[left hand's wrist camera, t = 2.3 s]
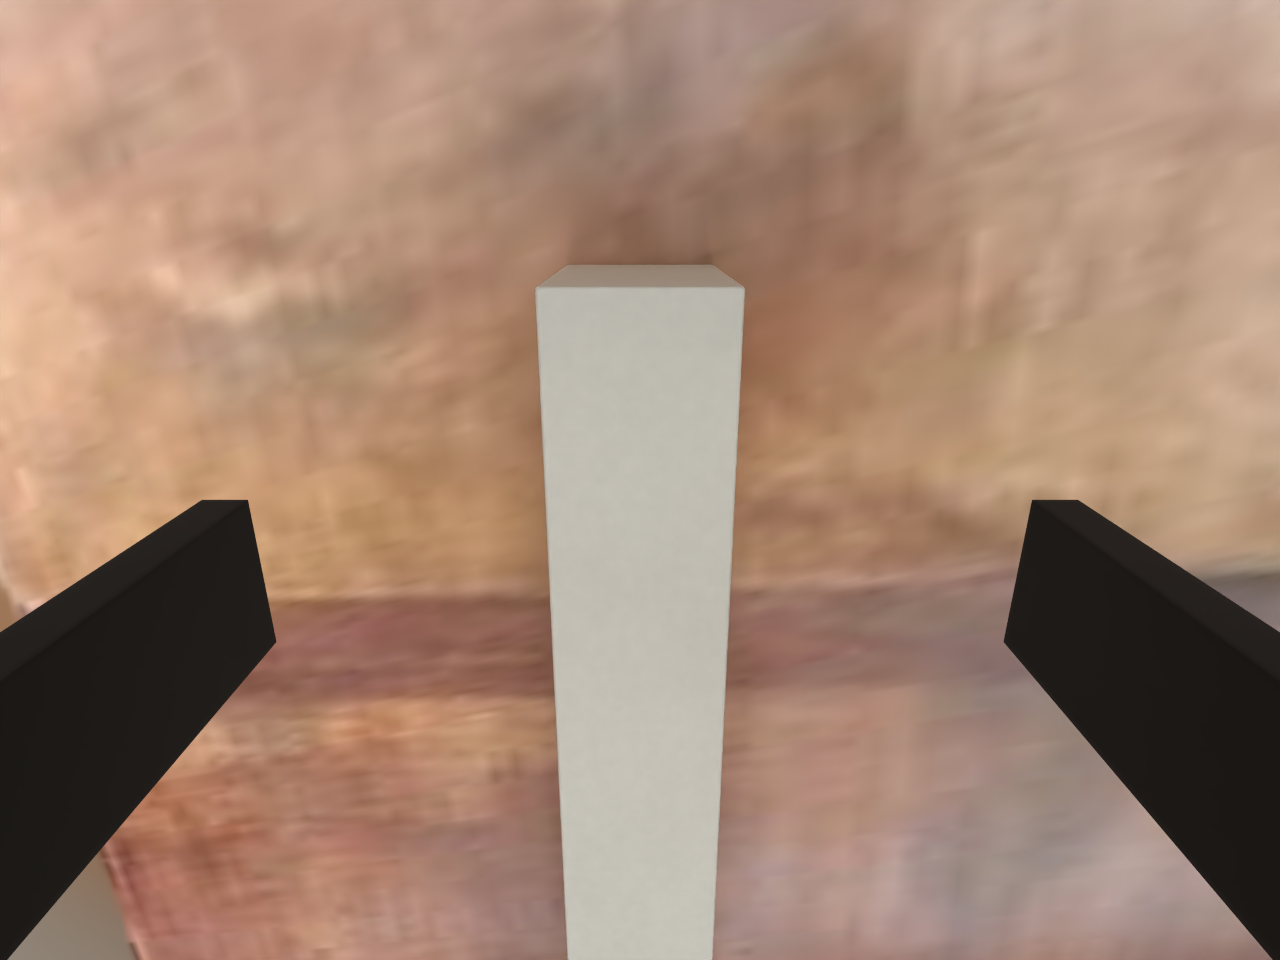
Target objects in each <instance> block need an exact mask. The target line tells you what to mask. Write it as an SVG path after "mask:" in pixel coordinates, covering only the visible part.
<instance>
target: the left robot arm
mask: <svg viewBox="0 0 1280 960" xmlns="http://www.w3.org/2000/svg"><path fill="white" fill-rule="evenodd" d="M275 643H276V638H275V633H274V628H273V623H272V618H271V613H270V608H269V603H268V598H267V593H266V588H265V583H264V578H263V573H262V568H261V563H260V558H259V553H258V548H257V543H256V538H255V533H254V528H253V523H252V518H251V513H250V508H249V503H248V500H201V501H200V502H198V503H197V504H195V505H194V506H192V507H191V508H189V509H188V510H186V511H185V512H183V513H181V514H180V515H178V516H177V517H175V518H174V519H172V520H171V521H169V522H168V523H166V524H165V525H163V526H162V527H160V528H159V529H157V530H156V531H154V532H153V533H151V534H149V535H148V536H146V537H145V538H143V539H142V540H140V541H139V542H137V543H136V544H134V545H133V546H131V547H130V548H128V549H127V550H125V551H124V552H122V553H121V554H119V555H117V556H116V557H114V558H113V559H111V560H110V561H108V562H107V563H105V564H104V565H102V566H101V567H99V568H98V569H96V570H95V571H93V572H92V573H90V574H89V575H87V576H85V577H84V578H82V579H81V580H79V581H78V582H76V583H75V584H73V585H72V586H70V587H69V588H67V589H66V590H64V591H63V592H61V593H60V594H58V595H57V596H55V597H53V598H52V599H50V600H49V601H47V602H46V603H44V604H43V605H41V606H40V607H38V608H37V609H35V610H34V611H32V612H31V613H29V614H28V615H26V616H25V617H23V618H21V619H20V620H18V621H17V622H15V623H14V624H12V625H11V626H9V627H8V628H6V629H5V630H3V631H2V632H0V960H7V959H8V958H9V957H10V956H11V955H12V953H13V952H14V951H15V950H16V949H17V947H18V946H19V945H20V944H21V943H22V942H23V940H24V939H25V938H26V937H27V936H28V934H29V933H30V932H31V931H32V930H33V929H34V927H35V926H36V925H37V924H38V923H39V921H40V920H41V919H42V918H43V917H44V916H45V914H46V913H47V912H48V911H49V910H50V908H51V907H52V906H53V905H54V904H55V903H56V901H57V900H58V899H59V898H60V897H61V895H62V894H63V893H64V892H65V891H66V890H67V888H68V887H69V886H70V885H71V884H72V882H73V881H74V880H75V879H76V878H77V877H78V875H79V874H80V873H81V872H82V871H83V870H84V868H85V867H86V866H87V865H88V864H89V862H90V861H91V860H92V859H93V858H94V857H95V855H96V854H97V853H98V852H99V851H100V849H101V848H102V847H103V846H104V845H105V844H106V842H107V841H108V840H109V839H110V838H111V836H112V835H113V834H114V833H115V832H116V831H117V829H118V828H119V827H120V826H121V825H122V824H123V822H124V821H125V820H126V819H127V818H128V816H129V815H130V814H131V813H132V812H133V811H134V809H135V808H136V807H137V806H138V805H139V803H140V802H141V801H142V800H143V799H144V798H145V796H146V795H147V794H148V793H149V792H150V790H151V789H152V788H153V787H154V786H155V785H156V783H157V782H158V781H159V780H160V779H161V777H162V776H163V775H164V774H165V773H166V772H167V770H168V769H169V768H170V767H171V766H172V764H173V763H174V762H175V761H176V760H177V759H178V757H179V756H180V755H181V754H182V753H183V751H184V750H185V749H186V748H187V747H188V746H189V744H190V743H191V742H192V741H193V740H194V739H195V737H196V736H197V735H198V734H199V733H200V731H201V730H202V729H203V728H204V727H205V726H206V724H207V723H208V722H209V721H210V720H211V718H212V717H213V716H214V715H215V714H216V713H217V711H218V710H219V709H220V708H221V707H222V705H223V704H224V703H225V702H226V701H227V700H228V698H229V697H230V696H231V695H232V694H233V692H234V691H235V690H236V689H237V688H238V687H239V685H240V684H241V683H242V682H243V681H244V679H245V678H246V677H247V676H248V675H249V674H250V672H251V671H252V670H253V669H254V668H255V666H256V665H257V664H258V663H259V662H260V661H261V659H262V658H263V657H264V656H265V655H266V654H267V652H268V651H269V650H270V649H271V648H272V646H273V645H274V644H275ZM1004 643H1005V644H1006V645H1007V646H1008V648H1009V649H1010V650H1011V651H1012V652H1013V654H1014V655H1015V656H1016V657H1017V658H1018V659H1019V661H1020V662H1021V663H1022V664H1023V665H1024V666H1025V668H1026V669H1027V670H1028V671H1029V672H1030V674H1031V675H1032V676H1033V677H1034V678H1035V679H1036V681H1037V682H1038V683H1039V684H1040V685H1041V687H1042V688H1043V689H1044V690H1045V691H1046V692H1047V694H1048V695H1049V696H1050V697H1051V698H1052V700H1053V701H1054V702H1055V703H1056V704H1057V705H1058V707H1059V708H1060V709H1061V710H1062V711H1063V713H1064V714H1065V715H1066V716H1067V717H1068V718H1069V720H1070V721H1071V722H1072V723H1073V724H1074V726H1075V727H1076V728H1077V729H1078V730H1079V731H1080V733H1081V734H1082V735H1083V736H1084V737H1085V739H1086V740H1087V741H1088V742H1089V743H1090V744H1091V746H1092V747H1093V748H1094V749H1095V750H1096V751H1097V753H1098V754H1099V755H1100V756H1101V757H1102V759H1103V760H1104V761H1105V762H1106V763H1107V764H1108V766H1109V767H1110V768H1111V769H1112V770H1113V772H1114V773H1115V774H1116V775H1117V776H1118V777H1119V779H1120V780H1121V781H1122V782H1123V783H1124V785H1125V786H1126V787H1127V788H1128V789H1129V790H1130V792H1131V793H1132V794H1133V795H1134V796H1135V798H1136V799H1137V800H1138V801H1139V802H1140V803H1141V805H1142V806H1143V807H1144V808H1145V809H1146V811H1147V812H1148V813H1149V814H1150V815H1151V816H1152V818H1153V819H1154V820H1155V821H1156V822H1157V824H1158V825H1159V826H1160V827H1161V828H1162V829H1163V831H1164V832H1165V833H1166V834H1167V835H1168V836H1169V838H1170V839H1171V840H1172V841H1173V842H1174V844H1175V845H1176V846H1177V847H1178V848H1179V849H1180V851H1181V852H1182V853H1183V854H1184V855H1185V857H1186V858H1187V859H1188V860H1189V861H1190V862H1191V864H1192V865H1193V866H1194V867H1195V868H1196V870H1197V871H1198V872H1199V873H1200V874H1201V875H1202V877H1203V878H1204V879H1205V880H1206V881H1207V883H1208V884H1209V885H1210V886H1211V887H1212V888H1213V890H1214V891H1215V892H1216V893H1217V894H1218V896H1219V897H1220V898H1221V899H1222V900H1223V901H1224V903H1225V904H1226V905H1227V906H1228V907H1229V909H1230V910H1231V911H1232V912H1233V913H1234V914H1235V916H1236V917H1237V918H1238V919H1239V920H1240V922H1241V923H1242V924H1243V925H1244V926H1245V927H1246V929H1247V930H1248V931H1249V932H1250V933H1251V934H1252V936H1253V937H1254V938H1255V939H1256V940H1257V942H1258V943H1259V944H1260V945H1261V946H1262V947H1263V949H1264V950H1265V951H1266V952H1267V953H1268V955H1269V956H1270V957H1271V958H1272V959H1273V960H1280V632H1278V631H1277V630H1275V629H1274V628H1272V627H1271V626H1269V625H1268V624H1266V623H1265V622H1263V621H1262V620H1260V619H1259V618H1257V617H1255V616H1254V615H1252V614H1251V613H1249V612H1248V611H1246V610H1245V609H1243V608H1242V607H1240V606H1239V605H1237V604H1236V603H1234V602H1233V601H1231V600H1230V599H1228V598H1227V597H1225V596H1223V595H1222V594H1220V593H1219V592H1217V591H1216V590H1214V589H1213V588H1211V587H1210V586H1208V585H1207V584H1205V583H1204V582H1202V581H1201V580H1199V579H1198V578H1196V577H1195V576H1193V575H1191V574H1190V573H1188V572H1187V571H1185V570H1184V569H1182V568H1181V567H1179V566H1178V565H1176V564H1175V563H1173V562H1172V561H1170V560H1169V559H1167V558H1166V557H1164V556H1163V555H1161V554H1159V553H1158V552H1156V551H1155V550H1153V549H1152V548H1150V547H1149V546H1147V545H1146V544H1144V543H1143V542H1141V541H1140V540H1138V539H1137V538H1135V537H1134V536H1132V535H1131V534H1129V533H1127V532H1126V531H1124V530H1123V529H1121V528H1120V527H1118V526H1117V525H1115V524H1114V523H1112V522H1111V521H1109V520H1108V519H1106V518H1105V517H1103V516H1102V515H1100V514H1099V513H1097V512H1095V511H1094V510H1092V509H1091V508H1089V507H1088V506H1086V505H1085V504H1083V503H1082V502H1080V501H1079V500H1032V503H1031V508H1030V513H1029V518H1028V523H1027V528H1026V533H1025V538H1024V543H1023V548H1022V553H1021V558H1020V563H1019V568H1018V573H1017V578H1016V583H1015V588H1014V593H1013V598H1012V603H1011V608H1010V613H1009V618H1008V623H1007V628H1006V633H1005V638H1004Z"/></svg>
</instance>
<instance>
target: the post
mask: <svg viewBox="0 0 1280 960" xmlns="http://www.w3.org/2000/svg"><path fill="white" fill-rule="evenodd" d="M744 299H745V288H744V287H743V286H742V285H740V284H739V283H737V282H736V281H735V280H733V279H732V278H730V277H729V276H728V275H726V274H725V273H723V272H722V271H721V270H719V269H718V268H717V267H715V266H714V265H566V266H565V267H563V268H562V269H561V270H559V271H558V272H556V273H555V274H554V275H552V276H551V277H549V278H548V279H547V280H545V281H544V282H542V283H541V284H540V285H538V286H537V287H536V288H535V302H536V322H537V343H538V364H539V384H540V405H541V425H542V446H543V466H544V487H545V508H546V528H547V549H548V569H549V590H550V610H551V631H552V652H553V672H554V693H555V713H556V734H557V755H558V775H559V796H560V816H561V837H562V857H563V878H564V899H565V919H566V940H567V960H712V959H713V938H714V917H715V897H716V876H717V856H718V835H719V814H720V794H721V773H722V753H723V732H724V711H725V691H726V670H727V650H728V629H729V608H730V588H731V567H732V547H733V526H734V505H735V485H736V464H737V444H738V423H739V402H740V382H741V361H742V340H743V320H744Z"/></svg>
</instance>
